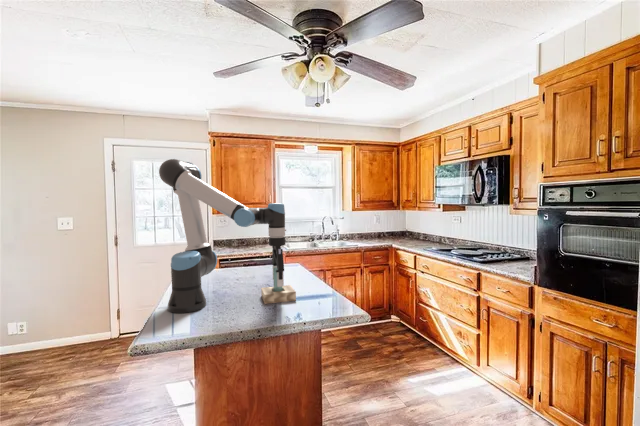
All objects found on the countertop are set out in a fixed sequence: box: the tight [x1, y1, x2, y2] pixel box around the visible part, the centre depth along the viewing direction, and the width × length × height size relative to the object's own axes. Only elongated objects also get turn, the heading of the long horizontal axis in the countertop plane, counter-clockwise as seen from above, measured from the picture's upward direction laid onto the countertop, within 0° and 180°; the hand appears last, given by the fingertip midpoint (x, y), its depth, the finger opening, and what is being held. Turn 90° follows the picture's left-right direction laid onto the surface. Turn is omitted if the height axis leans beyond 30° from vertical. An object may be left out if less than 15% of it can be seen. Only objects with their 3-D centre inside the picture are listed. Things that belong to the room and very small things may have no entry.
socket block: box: [260, 284, 297, 305], centre depth 146 cm, size 14×12×4 cm
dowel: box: [272, 267, 282, 292], centre depth 146 cm, size 4×4×14 cm
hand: (277, 282), depth 146 cm, fingers open, 13 cm apart
